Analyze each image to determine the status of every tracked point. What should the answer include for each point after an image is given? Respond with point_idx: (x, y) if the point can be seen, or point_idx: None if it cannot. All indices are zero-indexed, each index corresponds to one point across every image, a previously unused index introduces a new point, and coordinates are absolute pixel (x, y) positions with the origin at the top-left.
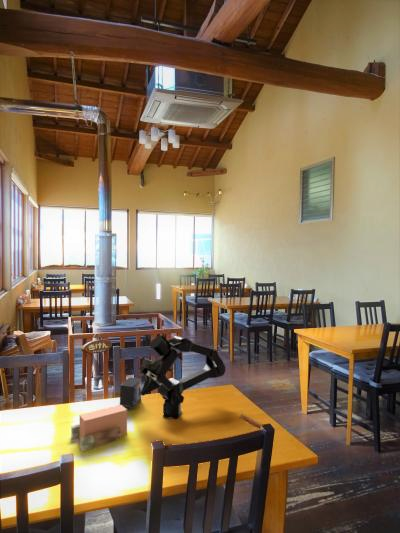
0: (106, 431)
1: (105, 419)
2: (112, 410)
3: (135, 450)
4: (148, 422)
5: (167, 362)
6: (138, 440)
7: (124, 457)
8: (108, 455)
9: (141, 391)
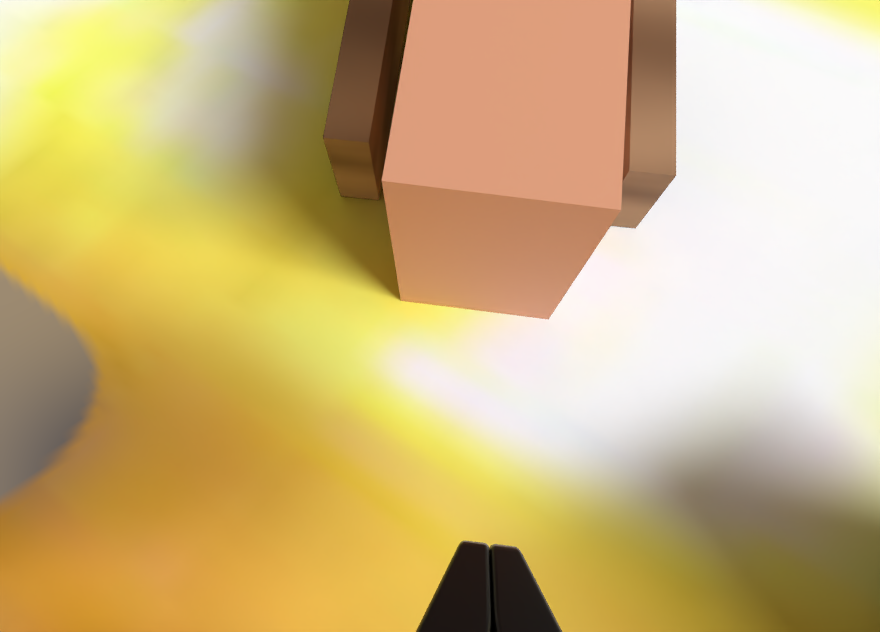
0: (366, 16)
1: None
2: (508, 25)
3: (84, 196)
4: None
5: None
6: (197, 305)
7: (75, 85)
8: (196, 19)
9: (536, 593)
